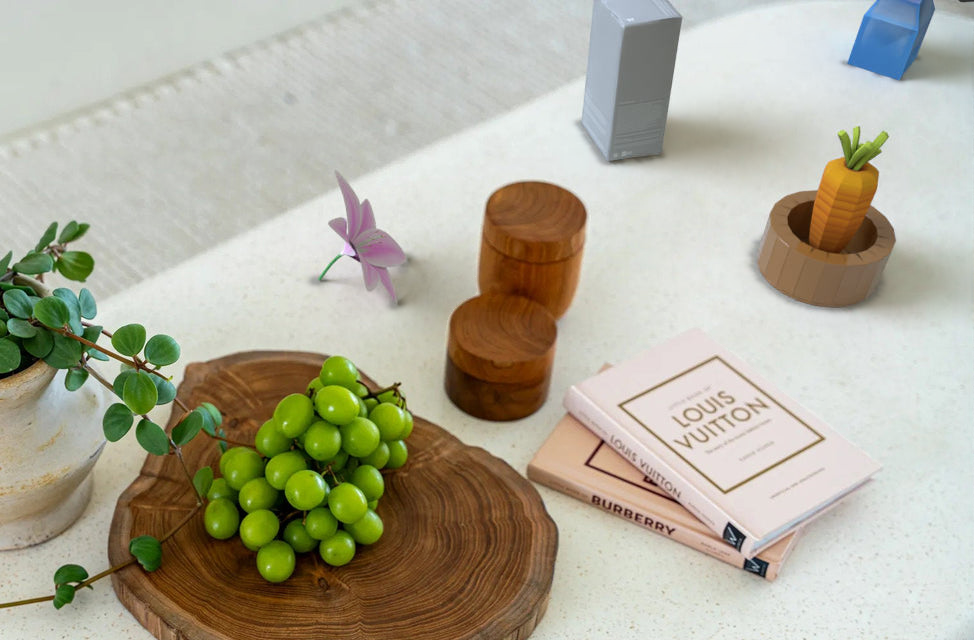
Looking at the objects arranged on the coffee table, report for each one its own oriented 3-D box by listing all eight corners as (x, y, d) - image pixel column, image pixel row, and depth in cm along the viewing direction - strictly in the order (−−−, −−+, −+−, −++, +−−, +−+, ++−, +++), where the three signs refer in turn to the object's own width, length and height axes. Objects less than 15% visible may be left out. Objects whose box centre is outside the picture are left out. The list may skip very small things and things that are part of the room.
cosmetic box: (662, 156, 122) (693, 18, 111) (598, 164, 121) (623, 25, 110) (632, 113, 128) (660, -23, 116) (572, 120, 127) (593, -16, 115)
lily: (351, 351, 103) (407, 275, 97) (253, 266, 104) (303, 187, 98) (404, 306, 113) (457, 234, 107) (314, 229, 113) (362, 154, 108)
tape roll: (871, 239, 113) (888, 198, 109) (883, 314, 105) (902, 272, 102) (755, 224, 114) (768, 183, 111) (758, 297, 107) (772, 256, 103)
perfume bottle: (865, 42, 139) (899, -55, 130) (916, 58, 137) (954, -40, 128) (847, 63, 136) (880, -34, 127) (899, 80, 133) (937, -19, 124)
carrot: (781, 265, 110) (828, 130, 99) (806, 241, 112) (855, 107, 101) (829, 289, 107) (883, 153, 96) (854, 264, 110) (909, 129, 99)
